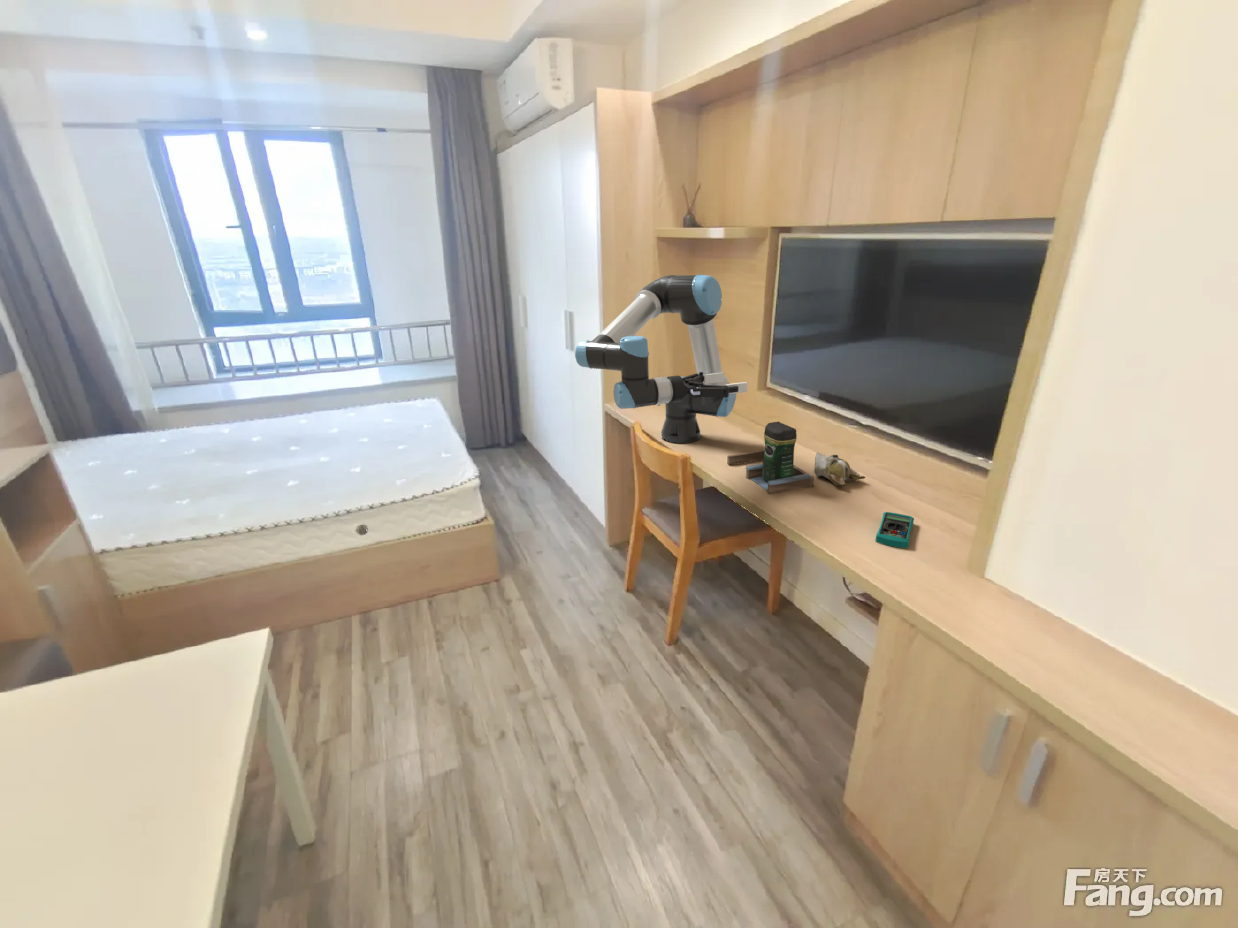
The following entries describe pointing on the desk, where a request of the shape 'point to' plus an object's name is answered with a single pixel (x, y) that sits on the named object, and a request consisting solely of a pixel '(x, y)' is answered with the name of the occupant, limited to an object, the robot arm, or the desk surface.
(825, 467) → the ceramic sculpture
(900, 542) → the digital multimeter
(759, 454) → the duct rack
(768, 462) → the coffee jar
